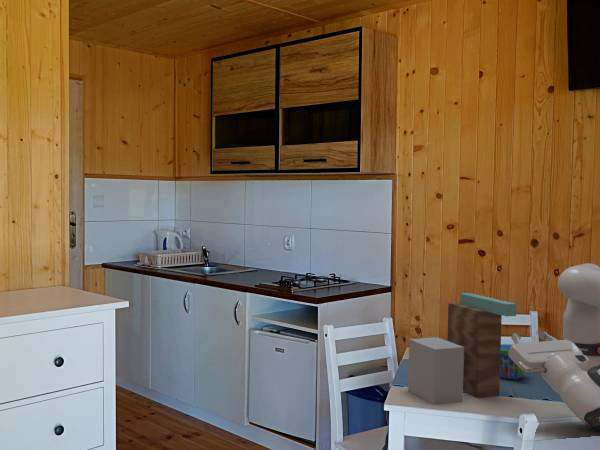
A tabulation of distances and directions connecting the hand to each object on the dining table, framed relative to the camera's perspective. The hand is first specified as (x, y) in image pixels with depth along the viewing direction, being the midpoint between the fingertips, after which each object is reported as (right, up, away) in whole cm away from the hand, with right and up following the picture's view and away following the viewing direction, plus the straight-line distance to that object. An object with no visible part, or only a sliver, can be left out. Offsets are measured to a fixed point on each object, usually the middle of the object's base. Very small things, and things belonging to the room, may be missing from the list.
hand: (527, 334), depth 174 cm
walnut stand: (-9, -21, +23) cm, 33 cm away
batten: (-6, +4, +17) cm, 19 cm away
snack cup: (+8, -21, +38) cm, 44 cm away
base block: (-22, -21, +16) cm, 35 cm away
